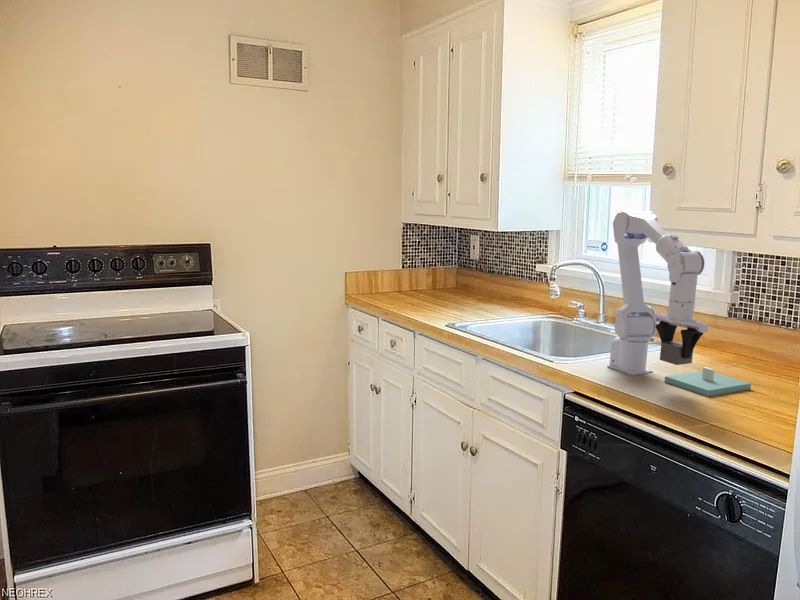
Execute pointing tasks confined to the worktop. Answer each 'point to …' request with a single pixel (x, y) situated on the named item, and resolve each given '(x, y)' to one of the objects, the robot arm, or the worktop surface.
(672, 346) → the grey drawer cube
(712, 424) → the worktop surface
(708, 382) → the base
